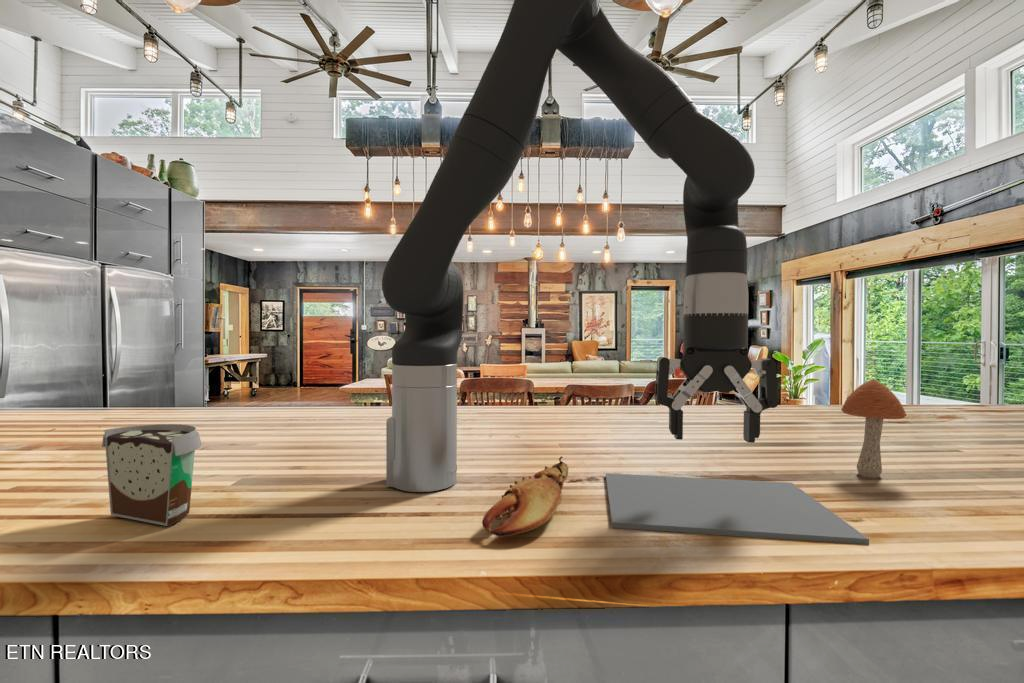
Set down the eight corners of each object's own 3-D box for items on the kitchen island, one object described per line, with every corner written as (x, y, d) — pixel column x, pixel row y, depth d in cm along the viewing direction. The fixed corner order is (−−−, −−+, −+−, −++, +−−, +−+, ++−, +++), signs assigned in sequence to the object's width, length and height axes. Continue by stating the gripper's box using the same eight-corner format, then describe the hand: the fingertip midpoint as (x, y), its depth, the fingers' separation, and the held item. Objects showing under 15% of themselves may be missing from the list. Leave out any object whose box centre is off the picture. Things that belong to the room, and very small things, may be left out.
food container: (226, 508, 59) (225, 427, 59) (176, 527, 53) (176, 437, 53) (155, 496, 63) (155, 420, 63) (102, 513, 57) (101, 429, 57)
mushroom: (896, 473, 75) (897, 378, 75) (913, 488, 68) (915, 382, 68) (835, 467, 78) (836, 375, 78) (845, 481, 71) (847, 380, 71)
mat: (611, 527, 54) (612, 522, 54) (605, 477, 72) (605, 473, 72) (869, 544, 50) (869, 539, 50) (791, 486, 68) (791, 482, 68)
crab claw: (594, 459, 64) (527, 538, 47) (589, 493, 66) (522, 581, 49) (548, 444, 68) (468, 512, 50) (543, 476, 69) (465, 554, 52)
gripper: (661, 310, 58) (659, 444, 58) (788, 310, 56) (786, 449, 56) (652, 313, 65) (651, 431, 66) (764, 313, 63) (762, 436, 63)
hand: (713, 439), depth 61 cm, fingers open, 8 cm apart
